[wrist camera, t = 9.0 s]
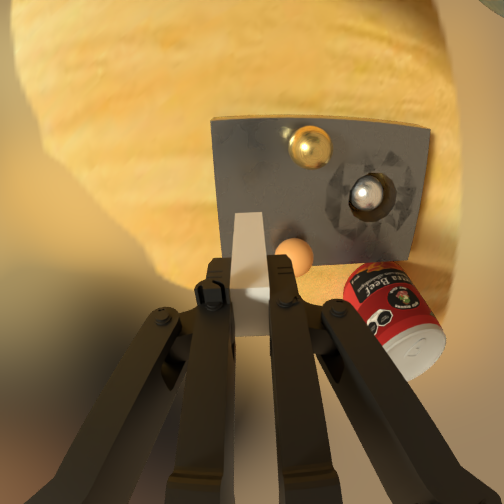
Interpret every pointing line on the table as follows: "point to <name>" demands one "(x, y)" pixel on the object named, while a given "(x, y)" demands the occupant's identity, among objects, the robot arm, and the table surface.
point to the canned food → (396, 316)
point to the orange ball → (297, 254)
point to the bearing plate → (321, 184)
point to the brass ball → (310, 147)
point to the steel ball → (366, 193)
